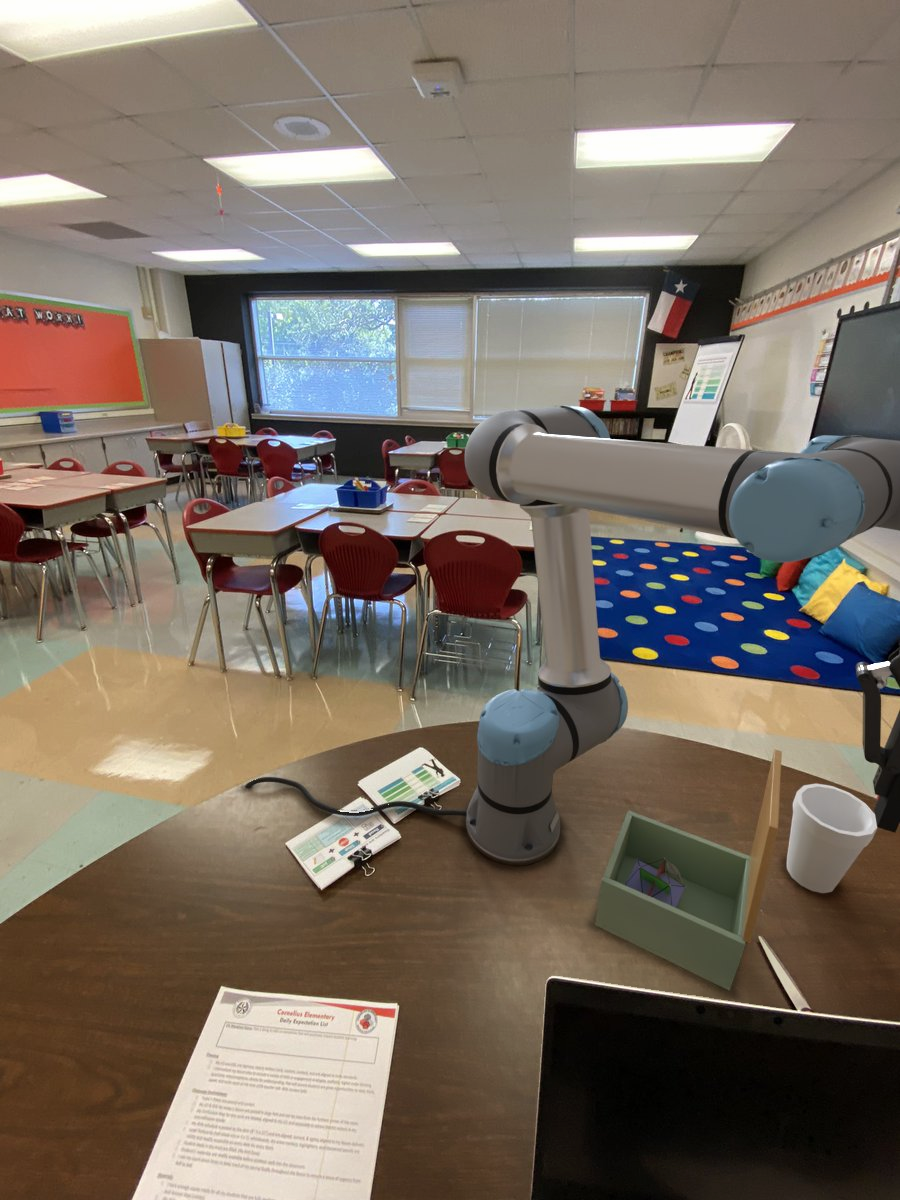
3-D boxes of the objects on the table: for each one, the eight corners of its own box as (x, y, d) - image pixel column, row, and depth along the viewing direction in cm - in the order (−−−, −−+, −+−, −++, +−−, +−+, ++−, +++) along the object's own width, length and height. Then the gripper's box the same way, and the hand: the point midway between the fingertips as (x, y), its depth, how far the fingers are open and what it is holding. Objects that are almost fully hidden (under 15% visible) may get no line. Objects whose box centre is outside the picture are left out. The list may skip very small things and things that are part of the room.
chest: (594, 925, 73) (601, 880, 70) (620, 852, 84) (628, 809, 80) (729, 991, 65) (745, 944, 62) (739, 901, 76) (753, 857, 72)
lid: (769, 826, 55) (778, 828, 55) (774, 748, 66) (781, 750, 65) (742, 940, 62) (750, 943, 61) (750, 853, 72) (757, 856, 72)
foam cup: (760, 859, 82) (781, 795, 77) (802, 839, 86) (824, 776, 80) (820, 913, 74) (848, 845, 69) (864, 888, 78) (894, 822, 72)
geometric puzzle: (663, 935, 69) (685, 875, 69) (613, 902, 73) (634, 846, 74) (674, 924, 75) (694, 869, 75) (627, 895, 79) (646, 843, 79)
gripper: (1062, 614, 46) (958, 820, 55) (873, 585, 52) (809, 776, 62) (1101, 652, 40) (977, 876, 50) (883, 615, 46) (810, 821, 56)
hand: (884, 820), depth 56 cm, fingers closed
